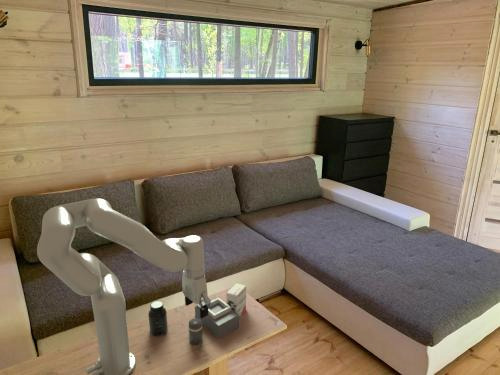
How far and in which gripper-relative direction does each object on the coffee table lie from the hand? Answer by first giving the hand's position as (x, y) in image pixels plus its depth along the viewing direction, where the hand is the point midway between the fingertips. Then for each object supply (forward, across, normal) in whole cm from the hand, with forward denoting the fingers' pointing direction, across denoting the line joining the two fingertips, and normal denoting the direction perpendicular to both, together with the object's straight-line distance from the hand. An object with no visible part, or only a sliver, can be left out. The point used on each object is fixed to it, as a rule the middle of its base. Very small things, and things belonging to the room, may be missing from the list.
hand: (196, 310), depth 137 cm
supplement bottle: (+13, -14, -9) cm, 21 cm away
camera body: (+14, -3, +11) cm, 18 cm away
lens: (+13, 0, -1) cm, 13 cm away
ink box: (+14, -3, +21) cm, 25 cm away
